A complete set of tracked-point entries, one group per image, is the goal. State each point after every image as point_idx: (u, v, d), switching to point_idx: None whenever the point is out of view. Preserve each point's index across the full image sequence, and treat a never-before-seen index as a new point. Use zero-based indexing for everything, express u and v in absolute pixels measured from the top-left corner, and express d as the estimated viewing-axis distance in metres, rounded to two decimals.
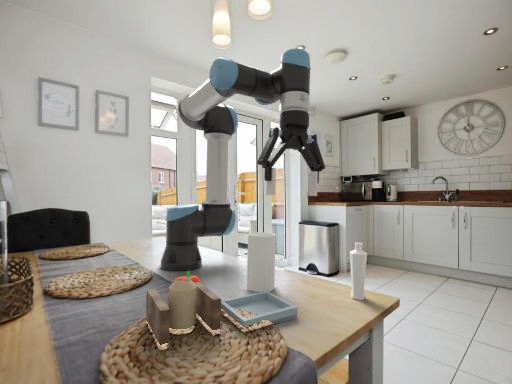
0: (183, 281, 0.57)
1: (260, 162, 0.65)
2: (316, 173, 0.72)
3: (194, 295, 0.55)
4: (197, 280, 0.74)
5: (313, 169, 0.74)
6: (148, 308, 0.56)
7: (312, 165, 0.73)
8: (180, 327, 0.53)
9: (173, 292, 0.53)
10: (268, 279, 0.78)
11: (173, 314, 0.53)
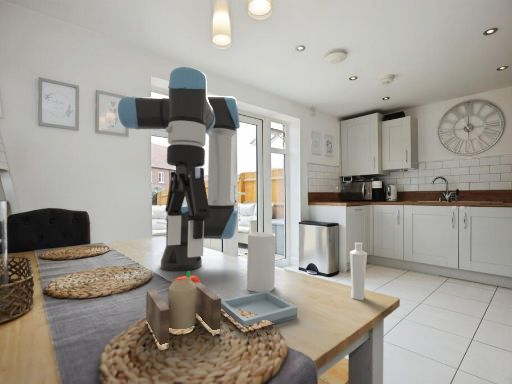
0: (183, 281, 0.57)
1: None
2: (189, 223, 0.49)
3: (194, 295, 0.55)
4: (197, 280, 0.74)
5: None
6: (148, 308, 0.56)
7: None
8: (180, 327, 0.53)
9: (173, 292, 0.53)
10: (268, 279, 0.78)
11: (173, 314, 0.53)
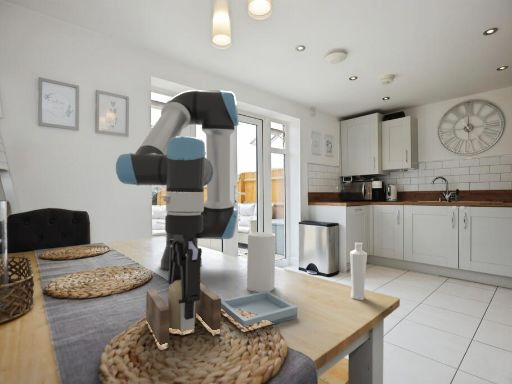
0: None
1: None
2: (180, 304, 0.52)
3: None
4: None
5: None
6: (148, 308, 0.56)
7: None
8: None
9: (173, 292, 0.53)
10: (268, 279, 0.78)
11: (173, 314, 0.53)
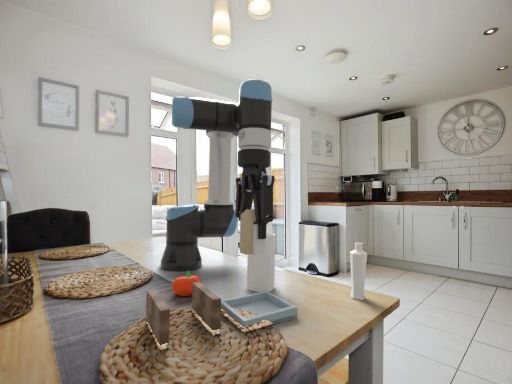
0: None
1: None
2: (254, 226, 0.59)
3: None
4: (197, 280, 0.74)
5: None
6: (148, 308, 0.56)
7: None
8: None
9: (246, 217, 0.60)
10: (268, 279, 0.78)
11: (246, 236, 0.60)
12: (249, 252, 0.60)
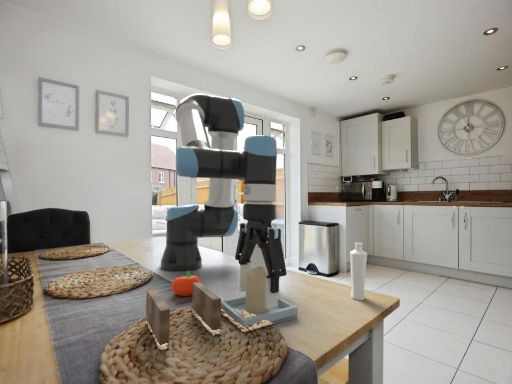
0: (257, 269, 0.64)
1: None
2: (266, 279, 0.58)
3: None
4: (197, 280, 0.74)
5: None
6: (148, 308, 0.56)
7: None
8: (259, 309, 0.60)
9: (253, 278, 0.61)
10: None
11: (252, 297, 0.61)
12: (255, 313, 0.60)
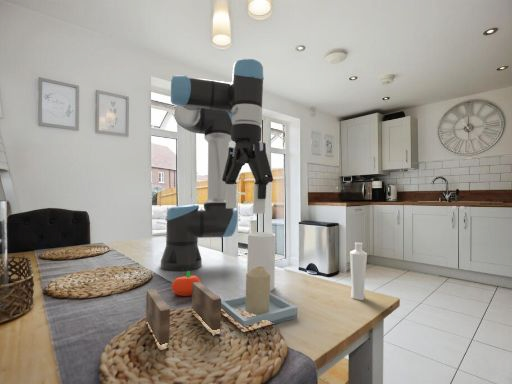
0: (257, 269, 0.64)
1: None
2: (254, 187, 0.62)
3: (269, 281, 0.62)
4: (197, 280, 0.74)
5: None
6: (148, 308, 0.56)
7: None
8: (259, 309, 0.60)
9: (253, 278, 0.61)
10: None
11: (253, 297, 0.61)
12: (255, 313, 0.60)
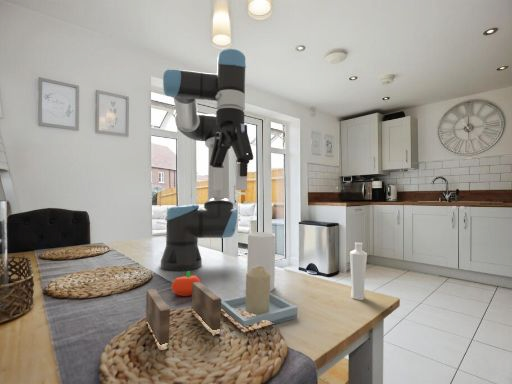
0: (257, 269, 0.64)
1: None
2: (236, 165, 0.66)
3: (269, 281, 0.62)
4: (197, 280, 0.74)
5: None
6: (148, 308, 0.56)
7: None
8: (259, 309, 0.60)
9: (253, 278, 0.61)
10: None
11: (253, 297, 0.61)
12: (255, 313, 0.60)
